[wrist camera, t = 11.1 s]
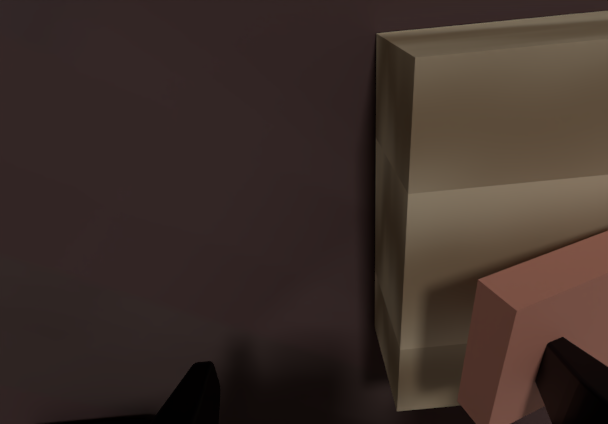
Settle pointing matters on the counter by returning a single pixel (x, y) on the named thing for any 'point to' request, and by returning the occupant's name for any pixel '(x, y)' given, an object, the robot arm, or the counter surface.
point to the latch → (532, 327)
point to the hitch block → (478, 176)
